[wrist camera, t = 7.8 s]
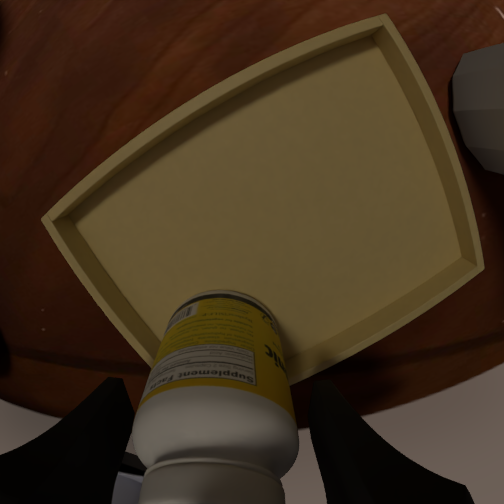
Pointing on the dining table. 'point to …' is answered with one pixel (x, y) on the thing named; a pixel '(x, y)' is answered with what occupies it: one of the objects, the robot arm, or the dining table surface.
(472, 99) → the water bottle
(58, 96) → the dining table surface
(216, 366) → the supplement bottle
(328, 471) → the robot arm
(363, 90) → the enamel tray
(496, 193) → the dining table surface
